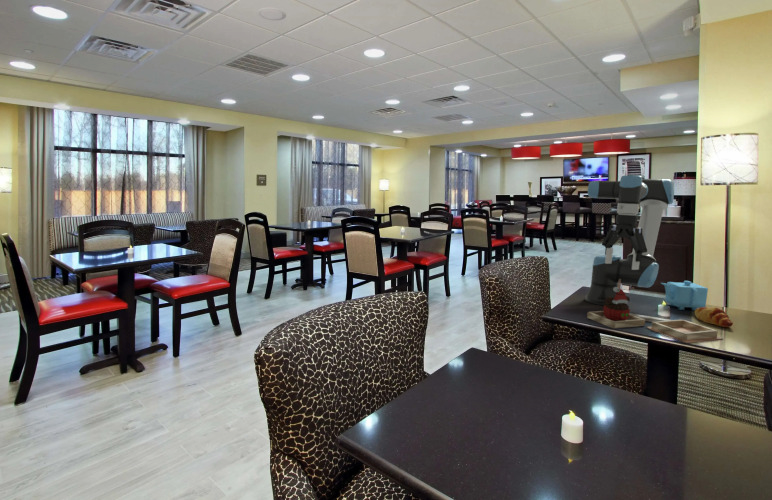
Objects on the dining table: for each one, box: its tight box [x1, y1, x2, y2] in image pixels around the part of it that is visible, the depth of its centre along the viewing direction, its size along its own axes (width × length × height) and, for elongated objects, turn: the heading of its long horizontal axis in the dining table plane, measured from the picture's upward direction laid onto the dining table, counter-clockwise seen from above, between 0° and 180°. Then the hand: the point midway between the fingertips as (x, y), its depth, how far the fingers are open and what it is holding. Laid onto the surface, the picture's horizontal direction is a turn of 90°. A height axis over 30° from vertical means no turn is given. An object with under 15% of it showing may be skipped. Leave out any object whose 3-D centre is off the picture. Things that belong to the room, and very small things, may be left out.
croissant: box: [693, 306, 734, 328], centre depth 181 cm, size 21×10×8 cm, turn 178°
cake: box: [602, 279, 631, 321], centre depth 177 cm, size 11×9×18 cm
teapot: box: [660, 280, 709, 311], centre depth 202 cm, size 18×16×13 cm
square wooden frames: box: [586, 310, 724, 344], centre depth 171 cm, size 34×32×3 cm
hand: (621, 266), depth 174 cm, fingers open, 13 cm apart
